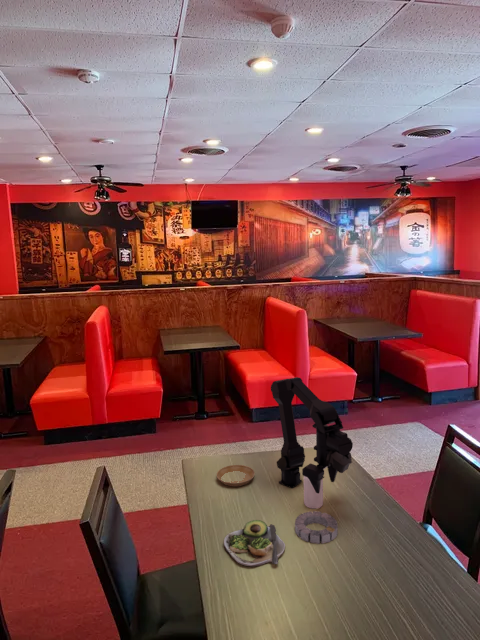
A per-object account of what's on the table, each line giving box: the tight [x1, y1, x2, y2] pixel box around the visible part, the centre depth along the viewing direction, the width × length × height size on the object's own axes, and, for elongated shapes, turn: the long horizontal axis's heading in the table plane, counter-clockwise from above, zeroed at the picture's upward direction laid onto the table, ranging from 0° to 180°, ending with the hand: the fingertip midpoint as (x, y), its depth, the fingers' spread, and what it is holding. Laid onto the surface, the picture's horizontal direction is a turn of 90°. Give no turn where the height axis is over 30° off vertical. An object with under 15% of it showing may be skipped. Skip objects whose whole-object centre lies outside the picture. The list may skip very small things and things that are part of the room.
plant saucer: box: [216, 464, 256, 487], centre depth 179 cm, size 15×15×3 cm
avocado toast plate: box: [223, 519, 286, 567], centre depth 137 cm, size 19×18×5 cm
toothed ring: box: [294, 510, 338, 545], centre depth 145 cm, size 13×13×3 cm
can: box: [303, 476, 324, 510], centre depth 159 cm, size 6×6×12 cm
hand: (325, 487), depth 156 cm, fingers open, 9 cm apart
